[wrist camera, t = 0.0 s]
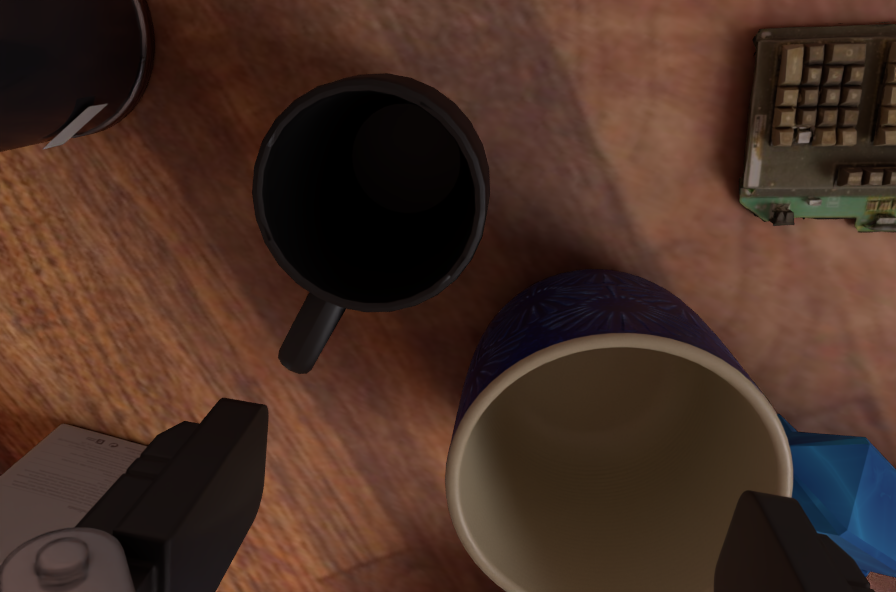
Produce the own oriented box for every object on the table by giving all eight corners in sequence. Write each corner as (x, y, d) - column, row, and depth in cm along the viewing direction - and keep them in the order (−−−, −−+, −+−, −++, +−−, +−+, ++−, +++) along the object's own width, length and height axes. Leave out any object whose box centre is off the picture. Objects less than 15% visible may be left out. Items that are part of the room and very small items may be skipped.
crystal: (878, 672, 33) (709, 568, 28) (783, 528, 40) (638, 429, 36) (1023, 576, 30) (864, 447, 26) (893, 443, 38) (752, 325, 34)
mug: (260, 255, 36) (176, 327, 27) (368, 31, 32) (311, 28, 23) (405, 334, 37) (369, 430, 28) (528, 125, 33) (533, 157, 24)
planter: (600, 510, 39) (630, 678, 29) (416, 380, 37) (379, 509, 27) (768, 347, 35) (873, 474, 25) (571, 193, 33) (595, 261, 23)
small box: (61, 419, 40) (-138, 586, 28) (171, 450, 40) (21, 630, 28) (52, 534, 43) (-133, 731, 31) (155, 562, 43) (11, 771, 31)
